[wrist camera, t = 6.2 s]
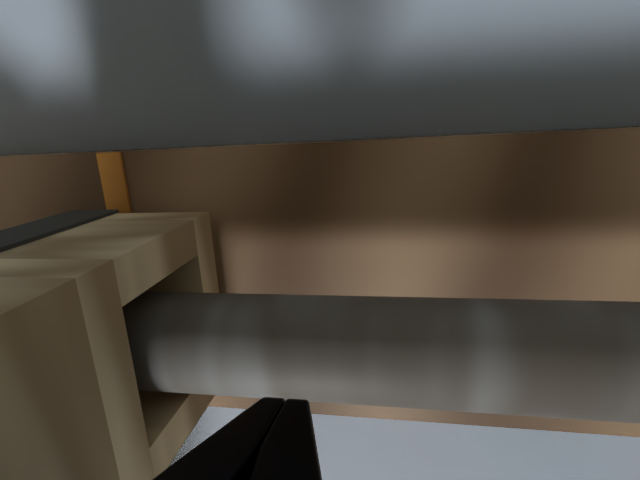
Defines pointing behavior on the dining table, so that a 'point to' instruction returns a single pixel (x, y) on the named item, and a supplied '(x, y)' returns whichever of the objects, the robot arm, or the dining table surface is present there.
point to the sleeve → (93, 348)
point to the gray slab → (48, 227)
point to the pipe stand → (387, 272)
